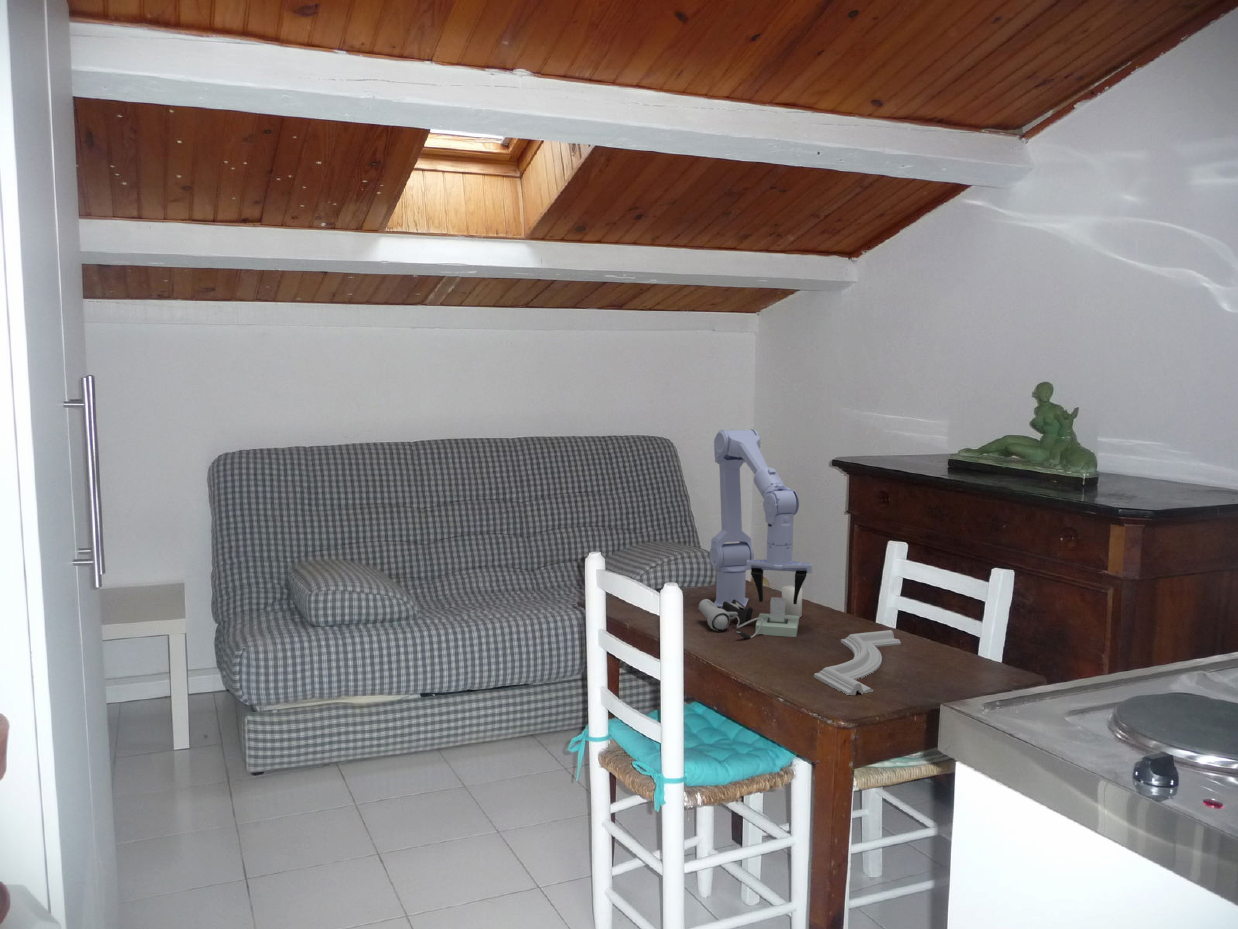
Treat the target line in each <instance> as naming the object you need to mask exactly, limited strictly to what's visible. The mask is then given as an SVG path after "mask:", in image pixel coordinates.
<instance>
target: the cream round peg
mask: <svg viewBox="0 0 1238 929" xmlns="http://www.w3.org/2000/svg"><path fill="white" fill-rule="evenodd" d="M794 592H795V585H791V584H790V585H789V584H788V585H783V586H782V587H781V598H786V605H785V615H792V616H799V619H801V618H802V617H801V616H802V614H803V613H802V611H803V609H802V608H803V587H802V586H801V588H800V591H799V594H798V598H797V604H793V600H794ZM800 617H801V618H800Z"/></svg>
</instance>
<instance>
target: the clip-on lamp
mask: <svg viewBox="0 0 1238 929" xmlns="http://www.w3.org/2000/svg"><path fill="white" fill-rule="evenodd" d="M698 610H699V611H700V613H702V615H703V616H704V617H705V618H706V621H707V625H708V626H709V628H710V629H711V630H712V631H716V632H719V631H718V630H722V631H724V630H725V629H727V628H728V627H729V624H730V622H731V620H734V619H735V620H737V624H736V627H735V628H736V629H739V630H736V631H735V633H736V634H738V635H739V636H740V637H741V638H743V639H747V640H750V639H752V638H754V637H755V636H757V635H758V634H757V633H758V631H759V630H760V628H761V626H762V624H763V619H762V618H760V617H759V616H758V617H759V618H758V617H755V618H752V616H753V611H754V608H752V607H750V606H749V607H748V608H747V606H746V607H745V606H743V605H742V604H741V603H739V602H738V601H737V600H733V601H732V603H729V602H726V601H725V602H723V606H722V607H717V606H716V605H715V604H714V602H713V601H711V600H710V599H708V598H704V599H702V600H700V602H699V604H698ZM758 619H761V620H762V621H761V625H760V627H759V628H758V630H757V631H756V630H755V631H756V633H755V632H754V633H753V635H750V634H748V633H746V632H743V631H742V630H740V629H741V628H742V627H745V625H746V626H747V624H750V625H751V623H752V622H754V621H757V620H758Z"/></svg>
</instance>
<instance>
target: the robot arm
mask: <svg viewBox="0 0 1238 929" xmlns="http://www.w3.org/2000/svg"><path fill="white" fill-rule="evenodd" d="M713 447H714V448H713V451H714V461H715V462H714V463H716V464H718V465H719V490H720V491H719V492H720V494H719V495H720V497H719V498H720V518H721V519H720V520H721V521H720V522H721V530H720V531H719V532H718V533H717V534H716V535H714V536H713V537H712V538H711V542H710V550H709V561H710V564H711V565H712V567H713V568H714V569H715V570H716V595H715V596H716V597H715V601H714V602H713V603H714V604H715V605H716V606H717V607H718V608H722V606H723V602H725V601H726V602H729V603H732V601H733V600H737V601H738V602H739V603H741V604H742V605H743V606H745V607H746V608H747V603H748V602H749V597H746V581H747V580H746V577H747V576H746V574H747V572H746V571H749V570H750V575H751V577H752V579H753V581H754V583H755V584H754V585H755V586H756V591H757V594H758V600H759V601H758V603H763V601H764V588H763V587H764V585H763V582H764V571H778V572H780V571H781V572H792V573H793V572H794V586H795V592H794V600H793V604H797V598H798V594H799V591H800V588H801V587H802V586H803V584H804V582H805V580H806V578H807V574H812V572H813V571H812V570H813V563H812V562H811V563H810V562H802V561H794V560H793V546H794V545H793V543H794V542H793V539H794V517H795V515H797V514H798V512H799V509H800V498H799V496H798V493H797V491H796V490H795V489H793V488H792V489H791V488H790V487H786V485H785V483H784V482H783V480H782V478H781V477H780V475H779V474H778V472H777V470H776V469H775V468H773V467H769V465H768V463H767V461H766V459H765V457H764V455H763V453H762V451H761V437H760V434H759V433H758V431H757V430H756V429H755V428H754V429H753V428H752V429H751V428H750V429H731V430H730V429H729V430H728V429H726V430H725V429H720V430H718V432H717V433H716V435H715V437H714V439H713ZM744 463H746V464H747V466H748V467H749V469H750V470H751V471H752V473H753V474H754V476H753V482H754V485H755V487H756V488H757V490H758V492H759V494H760V495H761V497H762V499H763V501H762V508H763V511H764V515H765V516H764V517H765V518H764V519H765V523H767V529H766V530H767V531H766V532H767V534H766V559H755V558H754V557H755V553H754V549H753V545H752V539H751V537H750V536H749V535H748V534H747V533H746V532H744V531H743V526H742V525H743V524H742V523H743V522H742V498H741V497H742V494H741V493H742V492H741V468H742V465H743V464H744ZM731 542H732V543H731Z"/></svg>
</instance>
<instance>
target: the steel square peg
mask: <svg viewBox="0 0 1238 929" xmlns="http://www.w3.org/2000/svg"><path fill="white" fill-rule="evenodd" d="M769 605H770V606H769V610H770V611H769V614H770V623H781V624H785V605H786V598H782V597H775V596H774V597H773V596H771V599H770V604H769Z"/></svg>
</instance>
